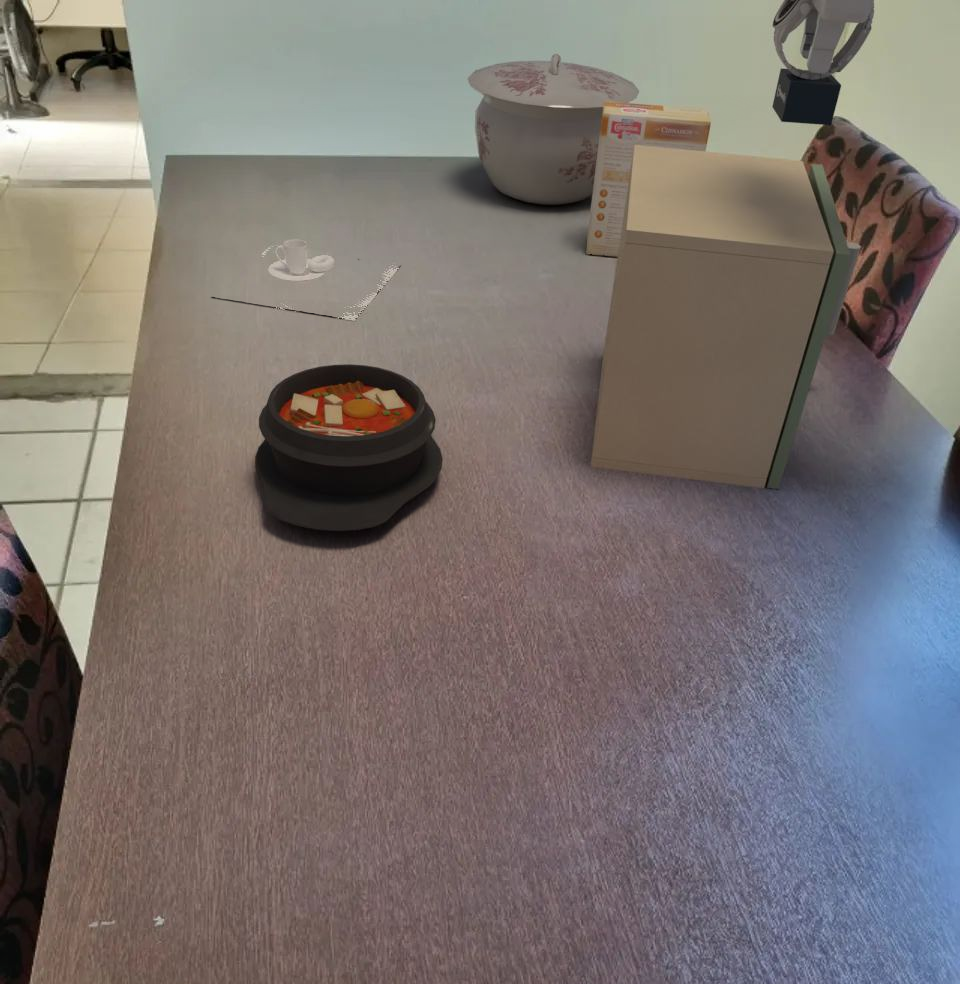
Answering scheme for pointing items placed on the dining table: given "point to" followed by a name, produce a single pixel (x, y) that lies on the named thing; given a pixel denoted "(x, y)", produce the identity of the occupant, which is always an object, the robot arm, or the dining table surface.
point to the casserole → (345, 447)
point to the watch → (801, 89)
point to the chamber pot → (543, 126)
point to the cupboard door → (817, 318)
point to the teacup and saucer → (318, 266)
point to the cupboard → (708, 314)
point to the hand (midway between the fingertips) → (813, 64)
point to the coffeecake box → (615, 154)
